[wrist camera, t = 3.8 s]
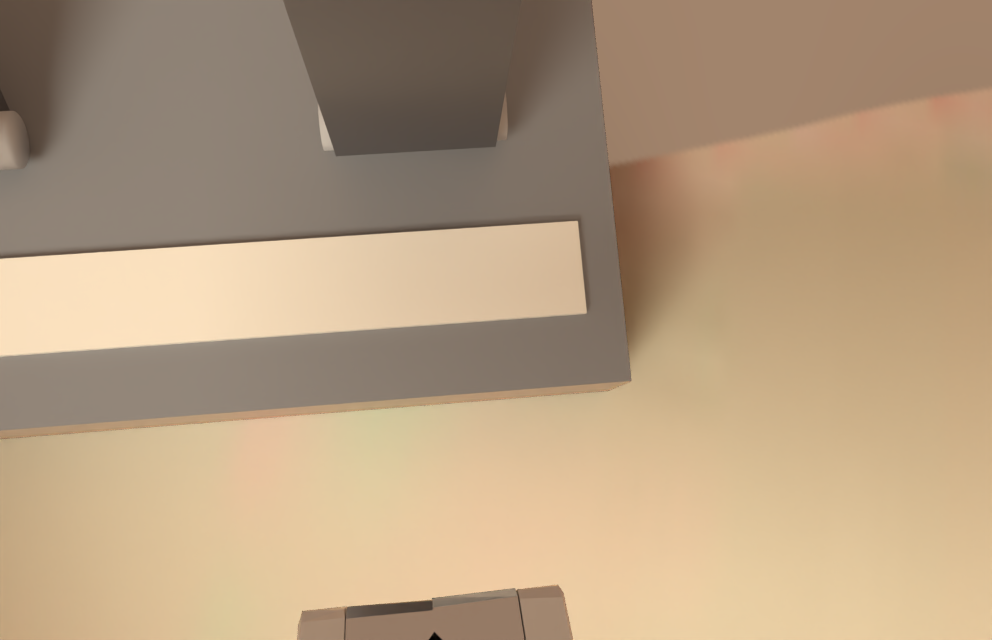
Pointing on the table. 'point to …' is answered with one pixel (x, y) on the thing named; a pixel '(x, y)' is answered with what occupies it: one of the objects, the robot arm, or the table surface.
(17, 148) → the lever
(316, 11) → the lever
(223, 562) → the table surface
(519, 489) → the table surface
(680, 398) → the table surface
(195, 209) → the breaker panel
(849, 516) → the table surface
